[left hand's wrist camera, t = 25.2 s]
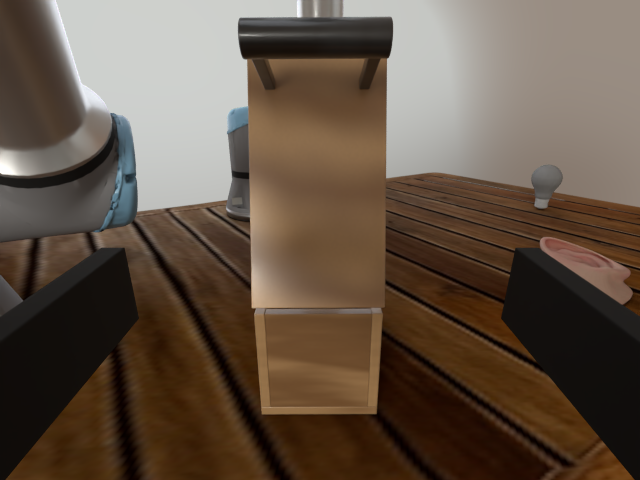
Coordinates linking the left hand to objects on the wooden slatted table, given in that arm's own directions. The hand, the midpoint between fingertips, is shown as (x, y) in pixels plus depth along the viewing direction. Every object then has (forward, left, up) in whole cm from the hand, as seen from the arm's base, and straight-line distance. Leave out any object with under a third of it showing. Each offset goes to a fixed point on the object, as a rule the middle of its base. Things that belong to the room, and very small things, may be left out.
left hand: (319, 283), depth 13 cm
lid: (-12, +8, +1) cm, 14 cm away
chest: (-16, +11, -17) cm, 26 cm away
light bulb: (-30, +82, -17) cm, 89 cm away
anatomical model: (-8, +48, -17) cm, 52 cm away
